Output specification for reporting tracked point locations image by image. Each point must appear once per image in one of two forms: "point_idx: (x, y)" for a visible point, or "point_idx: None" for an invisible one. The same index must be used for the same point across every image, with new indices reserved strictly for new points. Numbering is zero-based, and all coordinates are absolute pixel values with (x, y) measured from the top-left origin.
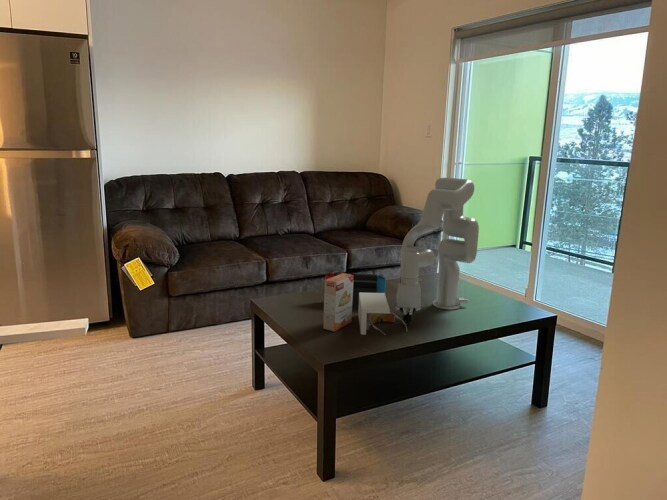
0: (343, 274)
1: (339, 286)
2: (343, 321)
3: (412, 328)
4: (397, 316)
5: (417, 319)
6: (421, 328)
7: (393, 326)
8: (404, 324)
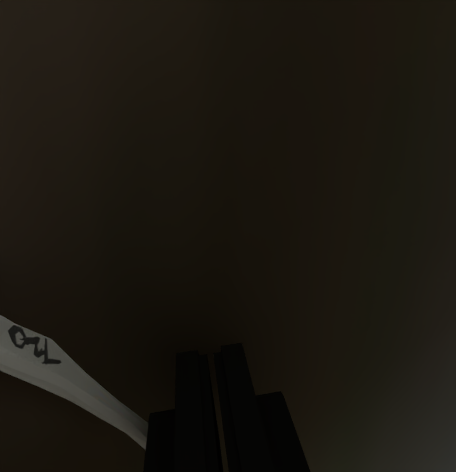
0: None
1: None
2: None
3: None
4: (11, 368)
5: (418, 54)
6: (402, 418)
7: (20, 440)
8: None
